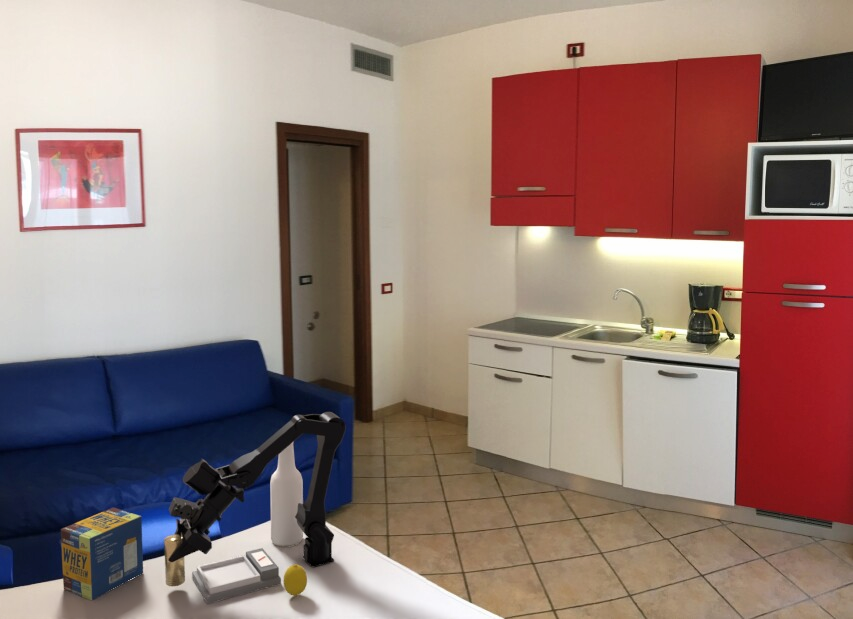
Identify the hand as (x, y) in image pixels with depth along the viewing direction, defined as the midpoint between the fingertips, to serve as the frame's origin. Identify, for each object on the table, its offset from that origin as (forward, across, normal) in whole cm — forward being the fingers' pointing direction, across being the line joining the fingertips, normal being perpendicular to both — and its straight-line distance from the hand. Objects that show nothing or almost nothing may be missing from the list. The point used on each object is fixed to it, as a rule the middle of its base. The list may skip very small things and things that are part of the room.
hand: (168, 557), depth 172 cm
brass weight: (+4, 0, +6) cm, 7 cm away
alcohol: (-17, -15, +30) cm, 37 cm away
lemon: (-12, +15, +25) cm, 32 cm away
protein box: (+16, -12, -4) cm, 20 cm away
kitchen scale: (-5, +2, +17) cm, 18 cm away
